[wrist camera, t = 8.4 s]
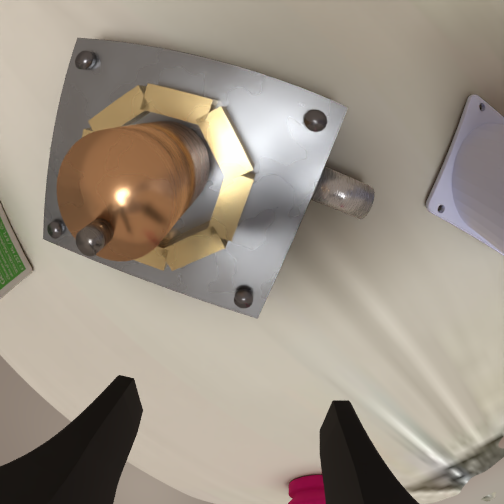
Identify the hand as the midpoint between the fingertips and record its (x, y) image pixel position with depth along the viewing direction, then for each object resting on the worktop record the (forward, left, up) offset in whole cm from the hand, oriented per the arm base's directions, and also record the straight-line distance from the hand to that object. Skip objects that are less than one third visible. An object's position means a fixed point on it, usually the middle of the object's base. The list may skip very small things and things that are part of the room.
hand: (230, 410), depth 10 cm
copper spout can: (+6, -6, -7) cm, 11 cm away
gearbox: (+4, -5, -10) cm, 12 cm away
